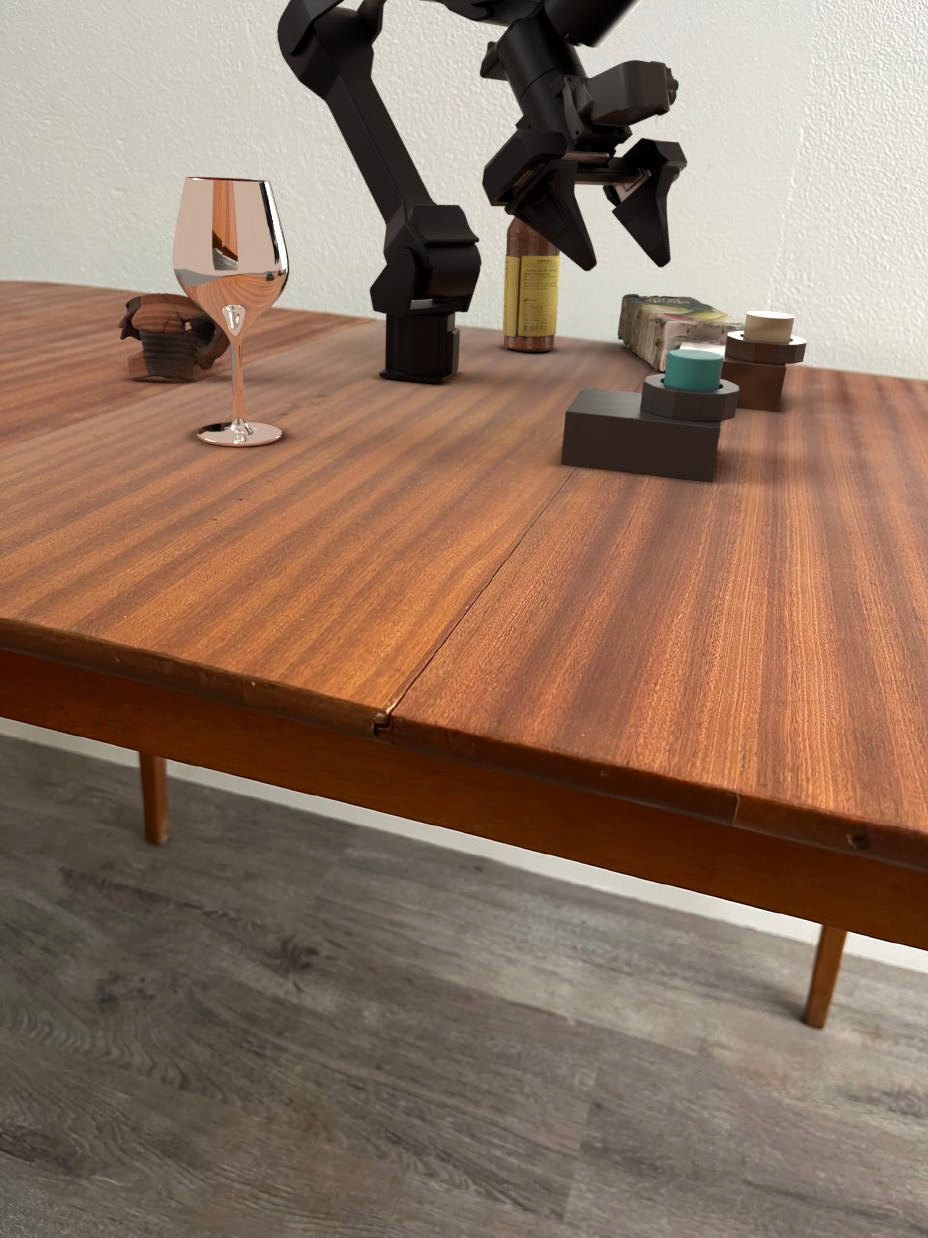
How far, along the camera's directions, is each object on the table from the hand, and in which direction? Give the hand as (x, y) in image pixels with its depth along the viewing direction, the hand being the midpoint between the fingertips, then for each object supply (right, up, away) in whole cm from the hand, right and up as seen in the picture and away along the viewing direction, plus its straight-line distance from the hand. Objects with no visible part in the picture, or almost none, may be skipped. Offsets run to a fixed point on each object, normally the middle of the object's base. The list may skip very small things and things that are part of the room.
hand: (629, 266), depth 78 cm
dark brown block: (+1, -15, -2) cm, 15 cm away
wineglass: (-30, -14, -2) cm, 33 cm away
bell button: (+16, -1, +17) cm, 23 cm away
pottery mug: (-40, -4, +17) cm, 44 cm away
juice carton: (+12, +3, +38) cm, 40 cm away
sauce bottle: (-6, +4, +39) cm, 40 cm away
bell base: (+13, -6, +20) cm, 24 cm away
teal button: (+4, -11, -5) cm, 12 cm away
